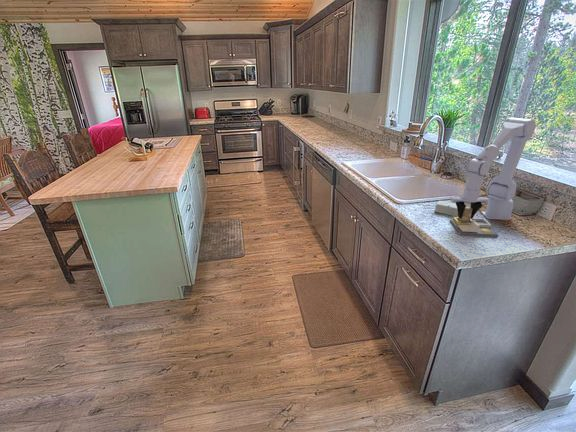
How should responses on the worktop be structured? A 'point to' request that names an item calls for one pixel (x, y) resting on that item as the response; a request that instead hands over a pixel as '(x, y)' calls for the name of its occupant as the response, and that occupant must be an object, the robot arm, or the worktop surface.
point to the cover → (470, 227)
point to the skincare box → (446, 208)
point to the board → (483, 230)
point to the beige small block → (466, 215)
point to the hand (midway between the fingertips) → (465, 217)
